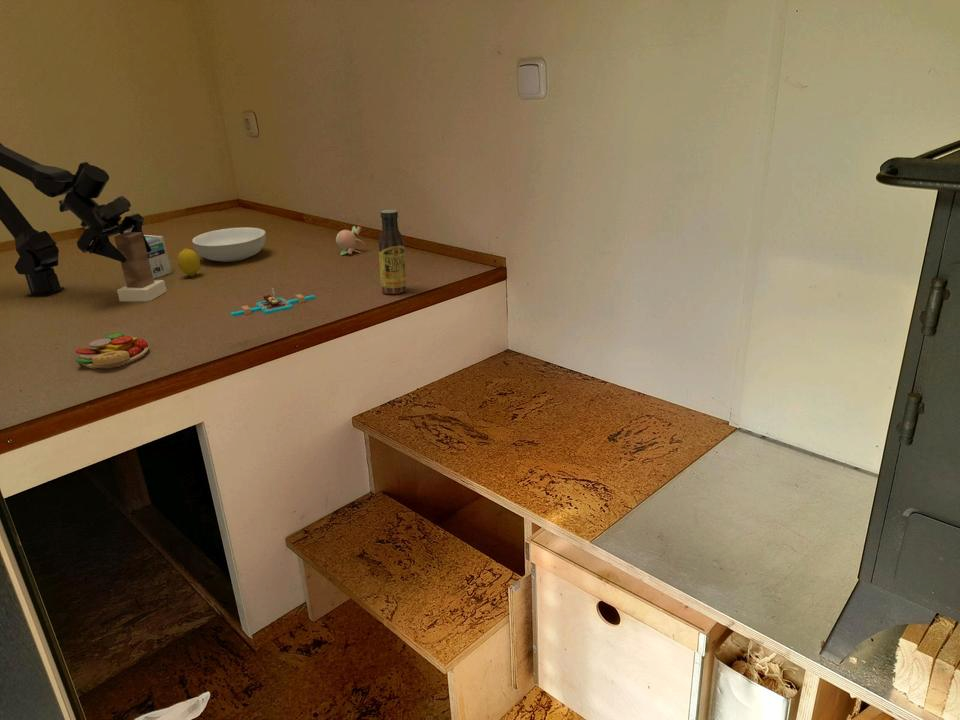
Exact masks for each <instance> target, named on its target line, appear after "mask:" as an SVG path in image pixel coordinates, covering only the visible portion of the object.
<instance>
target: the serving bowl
mask: <svg viewBox="0 0 960 720" xmlns="http://www.w3.org/2000/svg"><path fill="white" fill-rule="evenodd" d="M266 239H267V236H266V231H265V230H264V229H263V228H262V229H261V228H259V227H229V228H222V229H217V230H216V229H215V230H211V231H207V232H204V233H201V234H198V235H196V236H195V237H193V238H192V241H191V242H192V245H193V247H194V249H195V252H197V253H198V254H199V255H200V256H201V257H203V258H205V259H207V260H209V261H210V260H211V261H216V262H225V263H229V262H231V263H232V262H238V261H243V260H245V259H248V258H250V257H253V256H254V255H256V254H258V253H259V252H260V251H261V250H262V249H263V247H264V246H265V244H266Z"/></svg>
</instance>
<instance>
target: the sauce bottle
mask: <svg viewBox="0 0 960 720" xmlns="http://www.w3.org/2000/svg"><path fill="white" fill-rule="evenodd" d="M398 217H399V214H398V210H397V209H384V210H381V211H380V218H381V228H382V229H381V232H380V235H379V238H378V259H379V273H380V274H379V275H380V277H379V278H380V286H381V291H382V293H384V294H385V295H387V294H388V295H398V294H402V293H404V291H405V292H406V289H407V287H406V285H407V273H406V272H407V271H406V255H405V254H406V253H405V243H404V238H403V235H402V233H401V232H400V229H399V225H398V224H399V223H398V221H399V220H398ZM401 292H402V293H401Z"/></svg>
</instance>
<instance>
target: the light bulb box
mask: <svg viewBox="0 0 960 720" xmlns="http://www.w3.org/2000/svg"><path fill="white" fill-rule="evenodd" d="M143 235H144V237H145V238H146V240H147V242H148V244H149V246H150V248H151V252H147V254H148V258H149V263H150V267H151V271H152V275H153V279H154V280H155V279H157V278H160V277H163V276H166V275H169V274H172V269H171V264H170V261H169V256H168V252H167V249H166V243H165V240H164V236H163V235H149V234H143Z"/></svg>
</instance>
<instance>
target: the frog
mask: <svg viewBox="0 0 960 720" xmlns="http://www.w3.org/2000/svg"><path fill="white" fill-rule="evenodd" d="M361 229H362V227H361V226H359V225H358V226H357V227H356V226H355V225H353V226H352V228H351V230H349V229H342V230H340V231H339V232H338V233H337V235H336V237H335V242H336V245H337V246H338V247H339V248H341V249H342V250H341V252H340V254H339V255H340V256H344V255H345V254H349V255H352V254H353V252H355V253H358V254H362V251H359V250H356V249H355V246H356V242H359V243H360V244H361V243H362V244H363V245H366V243H365V242H364V241H363V240H362V239H359V238H357V237H356V235H358V236H359V235H360V232H361ZM355 234H356V235H355Z"/></svg>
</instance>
